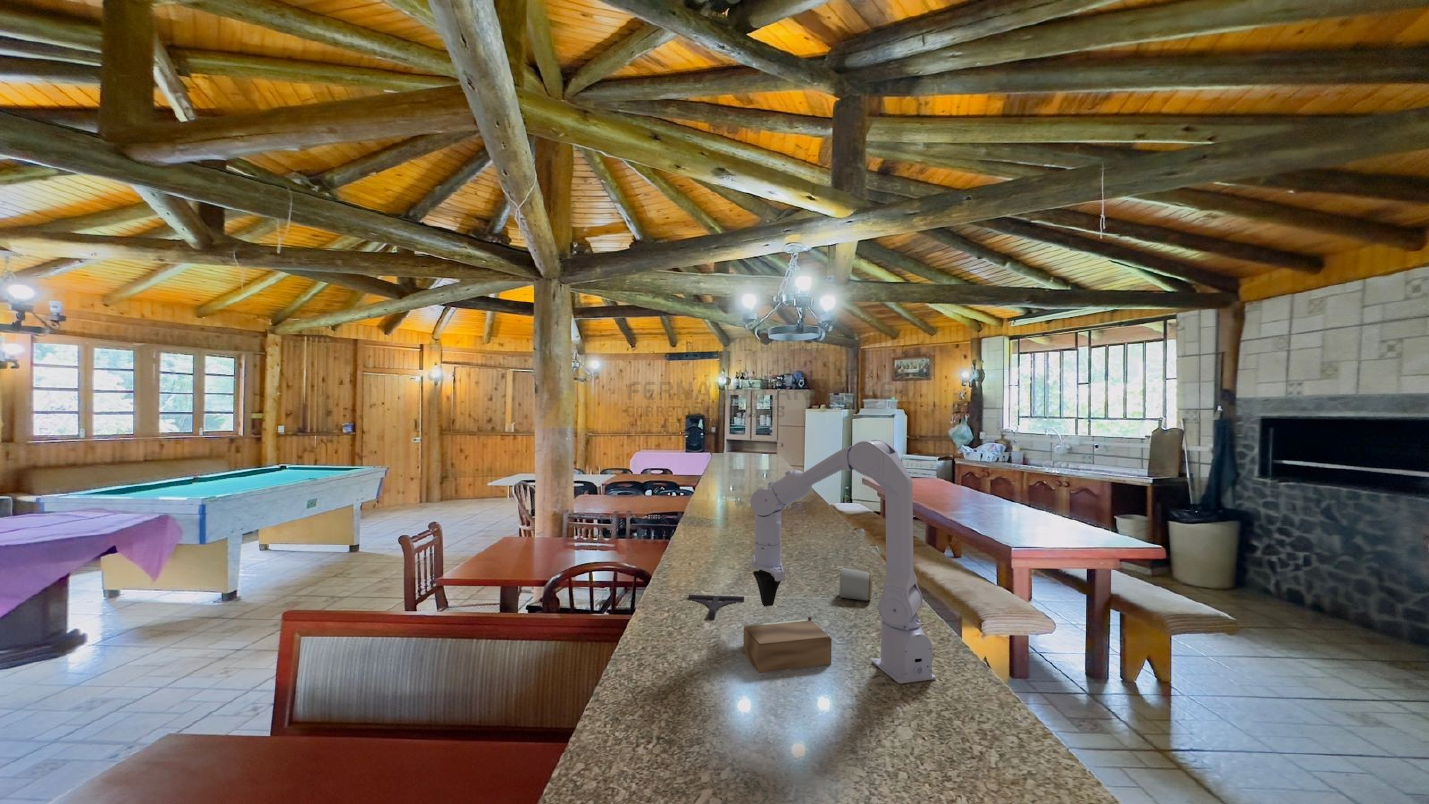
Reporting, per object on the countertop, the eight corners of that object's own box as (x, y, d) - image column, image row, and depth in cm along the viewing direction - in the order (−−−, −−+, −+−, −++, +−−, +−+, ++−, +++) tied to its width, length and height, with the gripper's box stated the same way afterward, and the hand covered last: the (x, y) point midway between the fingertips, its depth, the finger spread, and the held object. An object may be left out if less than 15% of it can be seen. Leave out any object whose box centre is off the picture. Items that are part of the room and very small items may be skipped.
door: (804, 639, 119) (804, 617, 119) (808, 643, 117) (808, 621, 117) (742, 645, 115) (742, 623, 115) (745, 649, 113) (745, 627, 113)
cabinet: (832, 664, 108) (833, 635, 108) (758, 673, 104) (759, 642, 104) (810, 643, 118) (810, 616, 118) (741, 650, 114) (741, 622, 114)
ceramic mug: (871, 605, 142) (871, 574, 142) (838, 601, 145) (839, 571, 145) (873, 593, 152) (873, 564, 152) (842, 589, 155) (842, 561, 155)
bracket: (681, 621, 131) (681, 609, 131) (689, 600, 146) (689, 589, 146) (742, 624, 130) (742, 612, 130) (744, 602, 145) (744, 591, 145)
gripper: (740, 536, 128) (739, 596, 127) (762, 551, 114) (762, 618, 113) (768, 534, 130) (768, 593, 129) (794, 549, 116) (794, 615, 115)
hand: (767, 605), depth 122 cm, fingers closed
